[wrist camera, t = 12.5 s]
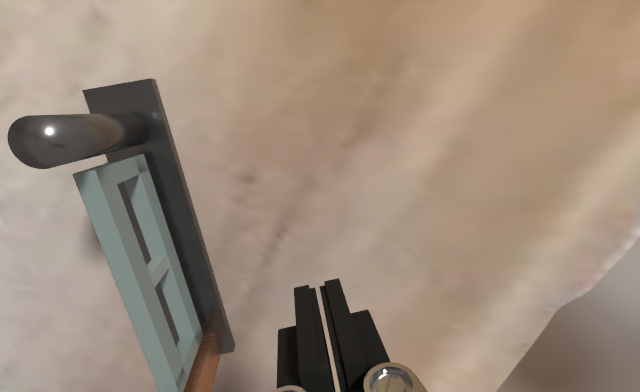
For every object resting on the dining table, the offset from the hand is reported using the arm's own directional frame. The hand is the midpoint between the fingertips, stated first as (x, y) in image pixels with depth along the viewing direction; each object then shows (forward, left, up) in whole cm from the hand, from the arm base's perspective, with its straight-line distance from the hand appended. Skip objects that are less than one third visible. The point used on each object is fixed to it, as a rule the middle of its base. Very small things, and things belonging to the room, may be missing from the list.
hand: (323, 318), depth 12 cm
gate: (-14, -4, -21) cm, 26 cm away
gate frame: (-14, -3, -23) cm, 27 cm away
